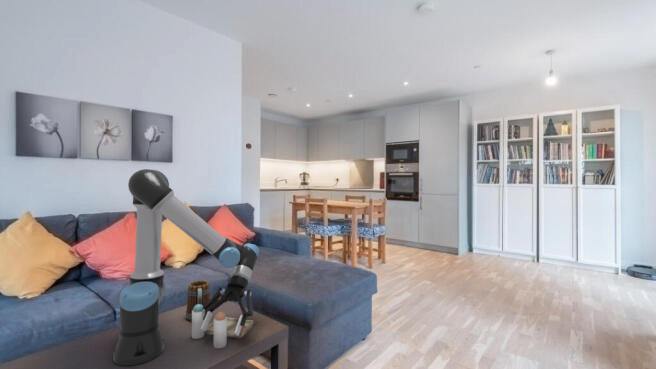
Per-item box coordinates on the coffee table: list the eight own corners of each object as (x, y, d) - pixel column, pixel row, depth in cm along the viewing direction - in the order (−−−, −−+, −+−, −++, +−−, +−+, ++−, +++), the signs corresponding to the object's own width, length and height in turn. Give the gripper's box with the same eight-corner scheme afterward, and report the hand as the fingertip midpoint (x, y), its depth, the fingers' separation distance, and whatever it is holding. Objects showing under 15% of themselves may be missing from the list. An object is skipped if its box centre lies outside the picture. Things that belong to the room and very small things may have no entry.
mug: (185, 313, 142) (185, 281, 142) (210, 310, 147) (210, 278, 146) (185, 329, 128) (186, 292, 128) (213, 324, 132) (213, 289, 132)
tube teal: (189, 338, 121) (189, 306, 121) (196, 332, 125) (197, 301, 125) (199, 339, 120) (200, 307, 120) (206, 333, 124) (207, 302, 124)
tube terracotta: (210, 347, 114) (211, 313, 114) (218, 341, 119) (218, 308, 119) (222, 349, 113) (222, 315, 113) (228, 342, 118) (229, 310, 118)
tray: (203, 333, 124) (203, 329, 124) (220, 320, 136) (220, 316, 136) (240, 338, 121) (240, 334, 121) (254, 324, 132) (254, 320, 132)
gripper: (270, 285, 129) (254, 340, 115) (216, 280, 135) (194, 331, 120) (265, 276, 124) (247, 332, 109) (209, 271, 129) (185, 324, 115)
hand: (219, 332), depth 115 cm, fingers open, 13 cm apart
